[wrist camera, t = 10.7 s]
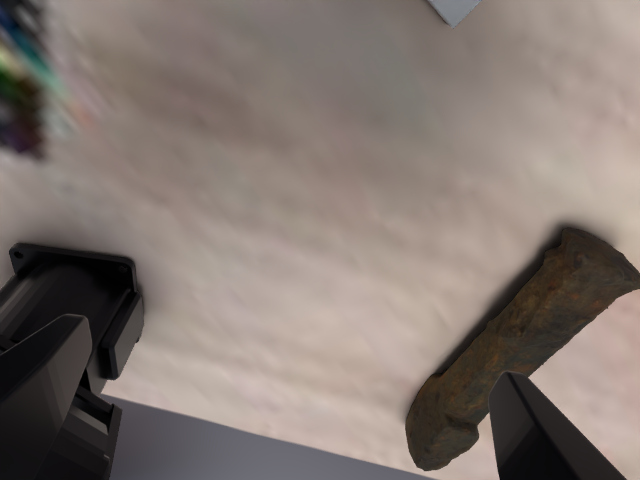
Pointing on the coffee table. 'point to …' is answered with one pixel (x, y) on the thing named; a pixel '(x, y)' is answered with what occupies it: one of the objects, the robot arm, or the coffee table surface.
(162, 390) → the coffee table surface
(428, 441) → the hand tool
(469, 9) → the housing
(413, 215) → the coffee table surface
